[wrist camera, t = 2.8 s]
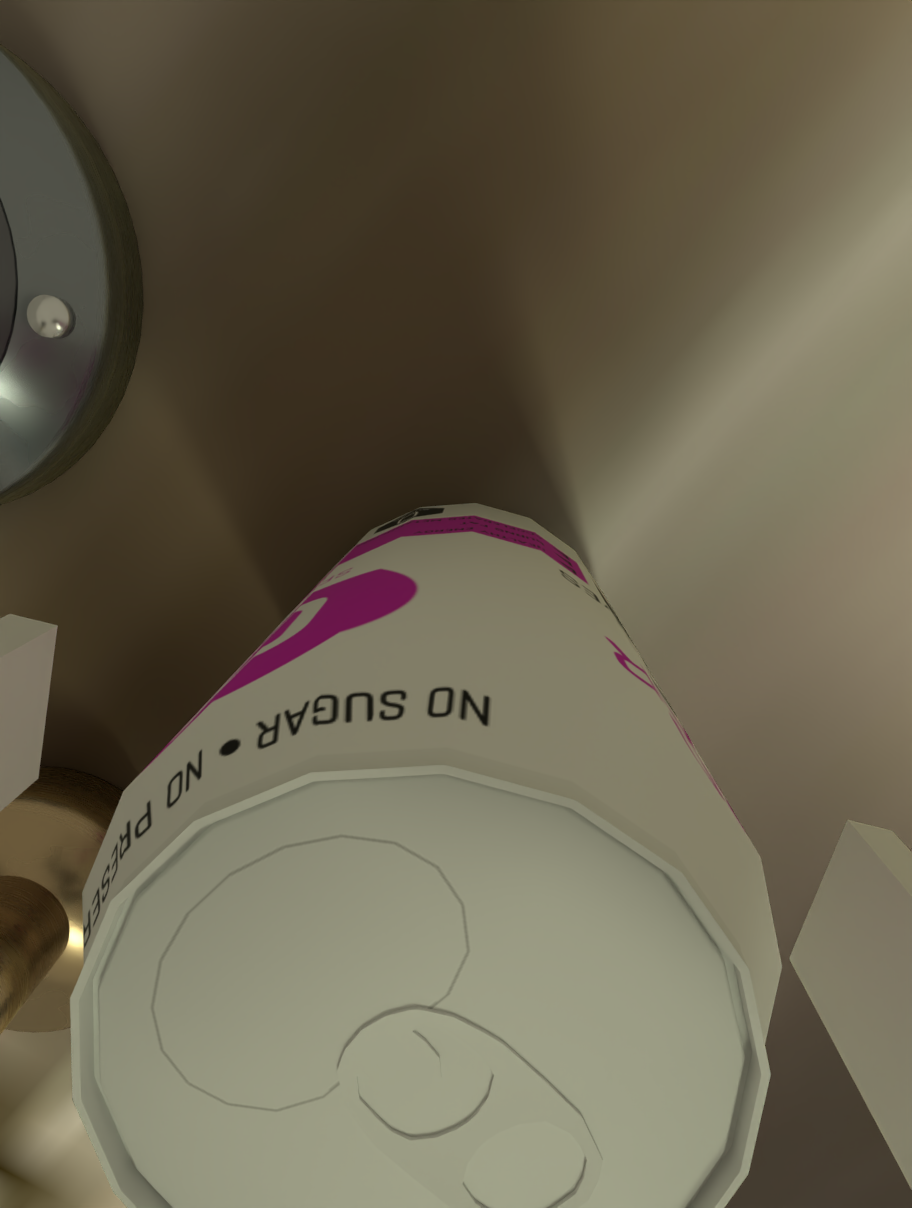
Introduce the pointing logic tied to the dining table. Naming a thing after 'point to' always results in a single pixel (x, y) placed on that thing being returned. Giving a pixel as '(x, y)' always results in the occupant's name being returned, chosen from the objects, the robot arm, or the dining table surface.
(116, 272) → the flange large
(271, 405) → the dining table surface
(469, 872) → the supplement can
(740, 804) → the dining table surface
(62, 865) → the fitting small
